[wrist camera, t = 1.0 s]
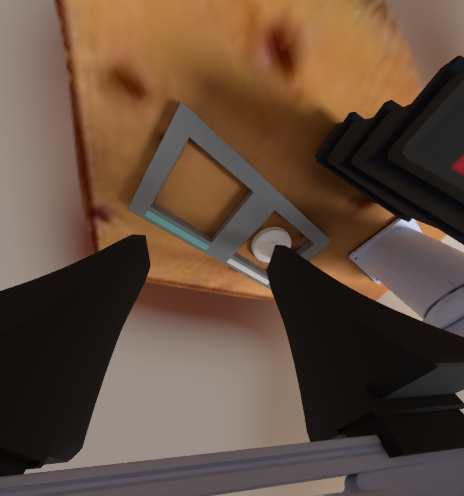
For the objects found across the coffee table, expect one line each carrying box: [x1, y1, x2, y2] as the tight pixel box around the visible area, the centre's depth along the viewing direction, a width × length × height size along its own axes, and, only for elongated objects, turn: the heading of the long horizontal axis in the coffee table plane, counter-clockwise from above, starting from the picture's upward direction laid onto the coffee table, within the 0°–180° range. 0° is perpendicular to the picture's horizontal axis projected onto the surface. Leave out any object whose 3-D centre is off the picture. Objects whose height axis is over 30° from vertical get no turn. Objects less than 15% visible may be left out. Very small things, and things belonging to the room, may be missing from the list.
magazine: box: [315, 56, 464, 245], centre depth 12 cm, size 4×13×15 cm, turn 63°
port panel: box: [127, 101, 332, 289], centre depth 18 cm, size 20×10×1 cm, turn 52°
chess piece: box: [251, 227, 292, 263], centre depth 17 cm, size 5×5×10 cm
